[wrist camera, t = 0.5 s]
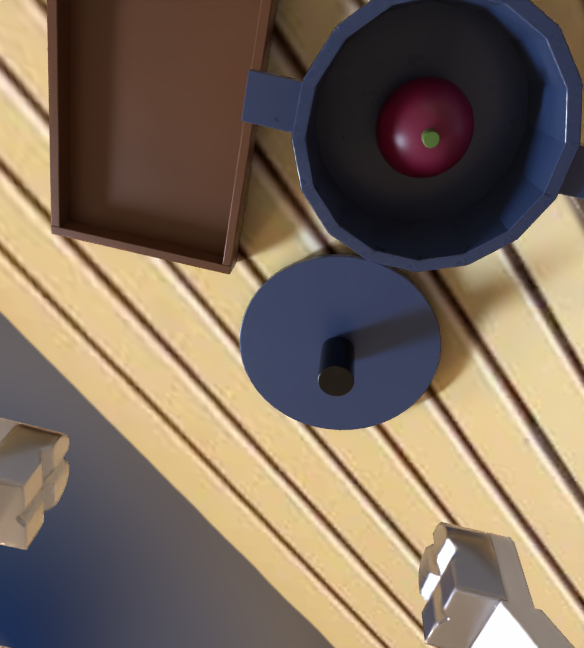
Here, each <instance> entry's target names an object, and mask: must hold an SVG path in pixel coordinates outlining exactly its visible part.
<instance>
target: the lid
mask: <svg viewBox="0 0 584 648" xmlns="http://www.w3.org/2000/svg"><path fill="white" fill-rule="evenodd" d="M240 352H241V357H242V362H243V365H244V367H245V370H246V373H247V375H248V377H249V378H250V380H251V382H252V384H253V385H254V387H255V388H256V389H257V391H258V392H259V393H260V394H261V395H262V396H263V398H264V399H265V400H266V401H268V402H269V403H270V404H271V405H272V406H273V407H275V408H276V409H277V410H279V411H280V412H282V413H283V414H285V415H287V416H289V417H291V418H293V419H295V420H297V421H300V422H302V423H304V424H308V425H311V426H315V427H319V428H325V429H334V430H353V429H360V428H366V427H370V426H374V425H377V424H380V423H383V422H385V421H388V420H390V419H392V418H394V417H396V416H398V415H399V414H401V413H402V412H404V411H405V410H407V409H408V408H409V407H410V406H412V405H413V404H414V403H415V402H416V401H417V400H418V399H419V398H420V397H421V396H422V395H423V393H424V392H425V391H426V389H427V388H428V386H429V385H430V383H431V381H432V379H433V377H434V375H435V373H436V370H437V367H438V364H439V359H440V353H441V337H440V331H439V326H438V322H437V319H436V316H435V313H434V311H433V309H432V307H431V305H430V303H429V301H428V300H427V299H426V297H425V296H424V294H423V293H422V291H421V290H420V289H419V288H418V287H417V286H416V285H415V284H414V283H413V282H412V281H411V280H410V279H408V278H407V277H406V276H405V275H403V274H402V273H400V272H399V271H397V270H395V269H394V268H392V267H390V266H387V265H383V264H379V263H374V262H370V261H368V260H366V259H365V258H363V257H362V256H356V255H350V254H328V255H319V256H315V257H310V258H306V259H303V260H300V261H298V262H295V263H293V264H291V265H289V266H287V267H285V268H283V269H281V270H280V271H278V272H277V273H276V274H274V275H273V276H271V277H270V278H269V279H268V280H267V281H266V282H265V283H264V284H263V285H262V286H261V287H260V288H259V290H258V291H257V292H256V293H255V295H254V296H253V298H252V299H251V301H250V303H249V305H248V307H247V309H246V312H245V314H244V317H243V320H242V324H241V329H240Z"/></svg>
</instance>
